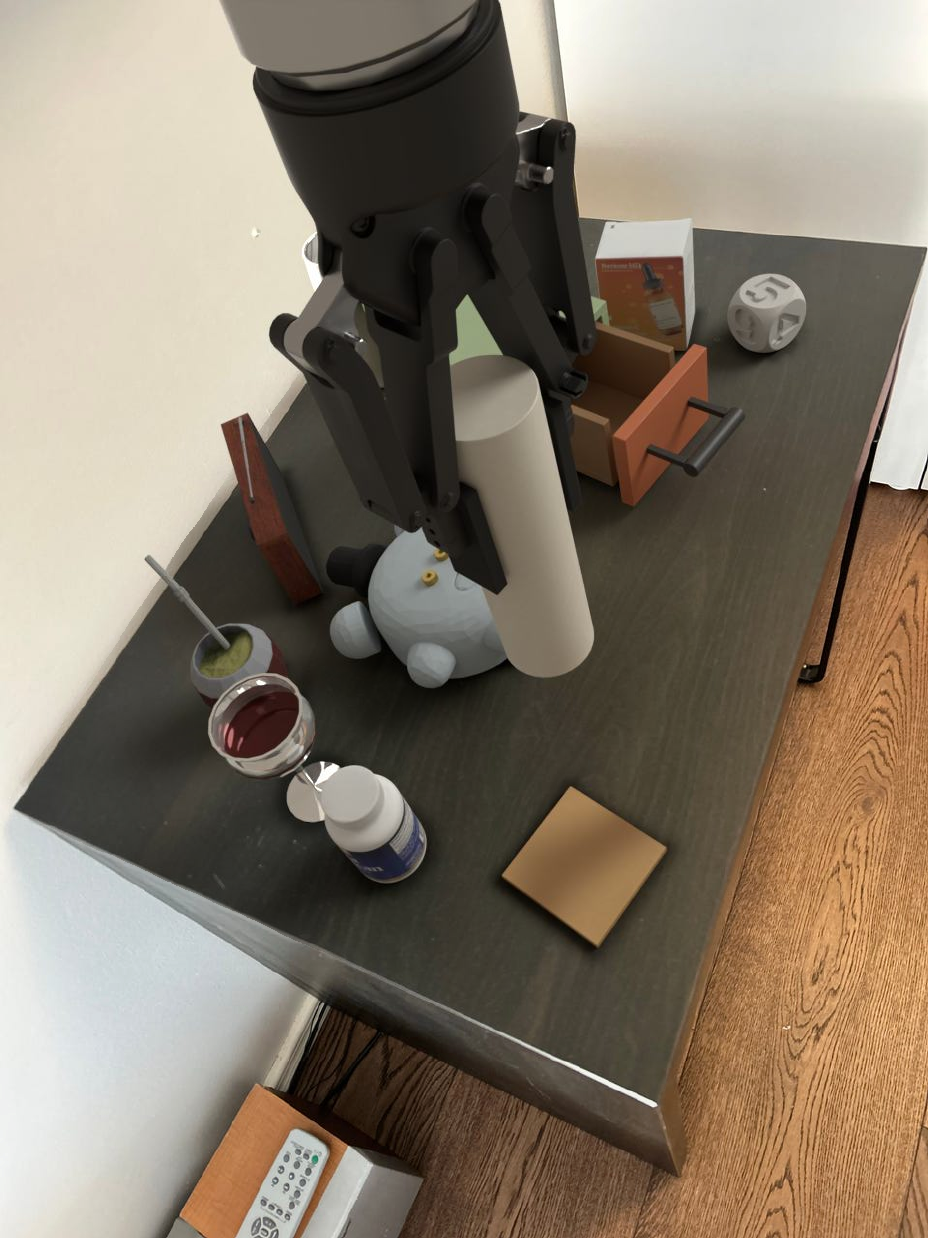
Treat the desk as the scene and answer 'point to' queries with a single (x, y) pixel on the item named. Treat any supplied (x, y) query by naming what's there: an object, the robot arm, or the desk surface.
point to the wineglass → (271, 738)
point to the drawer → (643, 412)
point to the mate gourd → (225, 650)
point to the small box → (649, 279)
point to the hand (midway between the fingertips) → (518, 535)
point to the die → (766, 313)
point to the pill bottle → (372, 824)
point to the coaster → (584, 865)
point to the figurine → (414, 610)
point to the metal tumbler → (360, 319)
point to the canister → (522, 514)
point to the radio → (270, 510)
